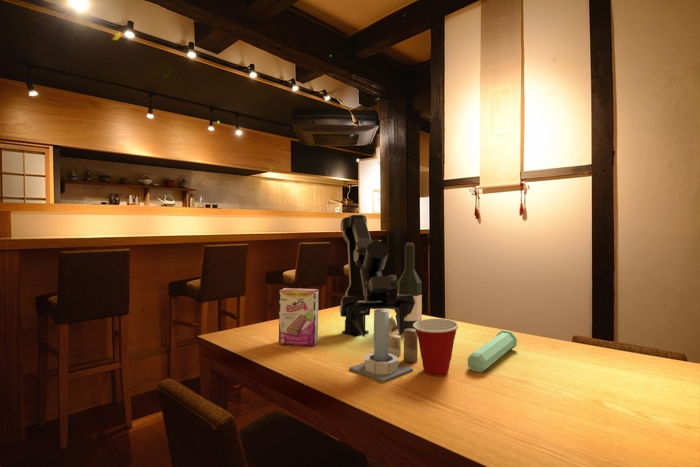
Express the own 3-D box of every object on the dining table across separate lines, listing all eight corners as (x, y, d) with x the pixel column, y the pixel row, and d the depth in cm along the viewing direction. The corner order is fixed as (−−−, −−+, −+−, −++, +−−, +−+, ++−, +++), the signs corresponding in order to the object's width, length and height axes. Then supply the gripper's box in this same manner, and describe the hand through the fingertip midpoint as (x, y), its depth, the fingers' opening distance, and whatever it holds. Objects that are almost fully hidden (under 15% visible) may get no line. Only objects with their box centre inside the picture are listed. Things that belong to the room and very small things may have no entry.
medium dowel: (409, 357, 103) (409, 327, 103) (420, 360, 101) (420, 330, 100) (400, 360, 101) (401, 330, 101) (411, 363, 98) (412, 332, 98)
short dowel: (393, 351, 108) (393, 334, 108) (403, 354, 105) (403, 336, 105) (384, 354, 105) (385, 336, 105) (395, 357, 103) (395, 339, 103)
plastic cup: (404, 367, 96) (404, 319, 96) (441, 362, 100) (441, 316, 100) (427, 383, 86) (428, 330, 86) (467, 377, 90) (468, 326, 89)
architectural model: (402, 341, 120) (402, 317, 120) (394, 346, 114) (394, 322, 114) (392, 339, 122) (392, 316, 122) (384, 345, 116) (384, 320, 115)
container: (481, 349, 91) (512, 327, 110) (459, 354, 95) (493, 332, 114) (490, 374, 90) (520, 347, 109) (467, 378, 93) (501, 351, 113)
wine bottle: (395, 332, 128) (395, 243, 128) (399, 326, 136) (399, 242, 136) (420, 334, 126) (420, 243, 125) (422, 328, 134) (423, 242, 133)
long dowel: (377, 364, 96) (377, 308, 96) (390, 366, 94) (391, 310, 94) (371, 368, 93) (371, 311, 93) (384, 371, 91) (385, 313, 91)
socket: (379, 359, 101) (379, 347, 101) (412, 370, 93) (413, 358, 93) (349, 369, 94) (349, 357, 94) (382, 383, 86) (383, 369, 86)
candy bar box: (278, 345, 113) (278, 290, 113) (282, 340, 118) (283, 287, 118) (315, 346, 112) (315, 291, 112) (318, 341, 117) (318, 288, 117)
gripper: (341, 264, 95) (348, 318, 85) (413, 263, 99) (428, 315, 88) (337, 290, 103) (343, 343, 93) (403, 289, 106) (416, 339, 96)
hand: (382, 335), depth 92 cm, fingers open, 9 cm apart
